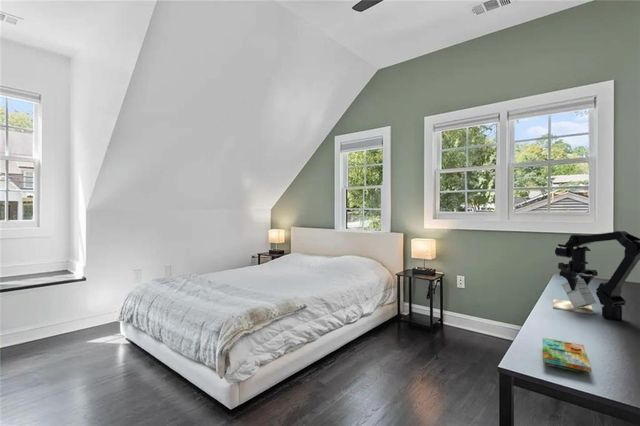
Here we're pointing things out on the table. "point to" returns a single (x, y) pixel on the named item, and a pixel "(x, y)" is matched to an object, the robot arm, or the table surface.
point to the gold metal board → (571, 307)
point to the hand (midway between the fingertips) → (578, 290)
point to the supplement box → (579, 294)
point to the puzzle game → (565, 355)
